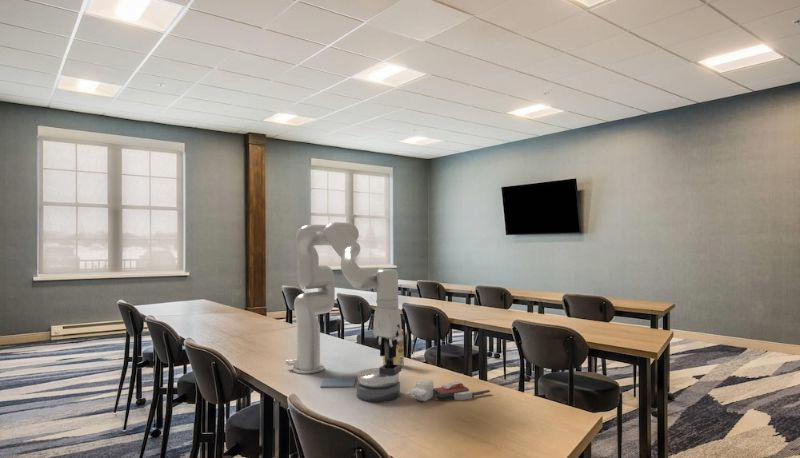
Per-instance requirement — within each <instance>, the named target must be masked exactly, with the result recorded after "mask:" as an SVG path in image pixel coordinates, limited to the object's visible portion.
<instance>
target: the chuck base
mask: <svg viewBox="0 0 800 458" xmlns="http://www.w3.org/2000/svg"><path fill="white" fill-rule="evenodd" d="M400 397H401V382H400V381H399V383H398V384H397V385H396V386H394V387H390V388H384V389H370V388H364V387H361V386H360V385H359V384H358V381H357V382H356V398H357V399H358V400H360V401H361V402H362V401H363V402H366V403H374V404H375V403H376V404H377V403H387V402H389V403H390V402H392V401H396V400H397V399H399V398H400Z"/></svg>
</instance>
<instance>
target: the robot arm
mask: <svg viewBox="0 0 800 458" xmlns="http://www.w3.org/2000/svg"><path fill="white" fill-rule="evenodd" d="M358 239H359V229H358V228H357V226H356V225H355V224H353V223H351V222H340V221H338V222H337V221H336V222H330V223H329V224H306V225H303V226H301V227H299V229H298V230H297V232H296V236H295V247H296V252H297V253H296V254H297V284H298V286H299V287H300V288H301V289H302V290H315V289H317V291H310V292H308V291H307V292H303V293H300V294H298V295H297V296H296V297H295V299H294V301H293V302H294V303H293V309H294V314H295V320H296V323H295V324H296V358H294V359H286V361H285V364H286V365H287V366H293V367H292V371H293V372H294V373H296V374H307V375H308V374H314V373H319V372H321V371H324V370H325V366H324V364H322V363H321V325H320V322H319V320H318V318H317V317H316V316H318V315H324V314H327V313H330V312H331V311H332V310H333V309H334V306H335V296H336V295H335V291H336V290H335V289H336V286H335V285H336V283H335V281H336V279H335V278H336V277H335V274H334V271H333V269H332V268H331V267H329V266H328V265H321V264H319V253H318V251H317V249H316V248H315V246H331V247H332V249H333V250H334V251H335V252H336V253H337V255H338V256H339V257H340V269H341V272H342V275H343V277H344V278H345V280H347V282H348V283H349V284H350V286H352V288H353V289H356V290H370V289H372V290H373V289H376V301H375V303H376V307H375V309H374V313H373V321H372V322H373V323H372V324H373V325H372V328H373V329H372V330H373V331H372V333H373V336H374V337H375V338H376V340H377V341H378V345H380V346H379V356H380V357H383V356H385V354H384V339H386V338H389V343H390V347H389V348H388V349H389V358H394V357H396V346H397V345H398V343H399V342H400V341H401V340H403V341H404V335H403V336H402V334H401V331H402V330H403V329H402V328H403V327H402V317H401V316H402V315H401V311H400V310H401V309H400V308H399V273H398V270H397V269H395V268H383V267H362V268H361V267H359V265H358V264H357V263H356V262H355V259H356V258H357V257H358V256H359V254H360V252H361V246H360V244H359V243H358V242H357V241H358ZM393 339H394V341H393Z"/></svg>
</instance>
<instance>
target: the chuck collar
mask: <svg viewBox="0 0 800 458" xmlns="http://www.w3.org/2000/svg"><path fill="white" fill-rule="evenodd" d="M400 372H402V366H401V365H396V364H394V368H385V364H383V365H382V366H380V367H375V368H374V367H371V368H367V369H363V370H360V371H359V372H358V373H357V374H356V375H357V382H358V384H359V385H360V386H361V387H364V388H370V389H384V388H390V387H394V386H396V385H397V384H398V383H399V382H400V378H399V377H400V376H399V375H400V374H399V373H400Z"/></svg>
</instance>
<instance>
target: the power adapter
mask: <svg viewBox="0 0 800 458" xmlns="http://www.w3.org/2000/svg"><path fill="white" fill-rule="evenodd" d="M434 388H435V387H434V381H433V380H430V379H422V380H420V381H417V382H416V384H415V387H414V388H411V390H410V391H409V392H408V393H407V394H406V395H407V397H409V396H413V397H414V398H415V399H416V400H417V401H420V402H428V401H429V400H431V399H433V398H434V397H433V394H434Z"/></svg>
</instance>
